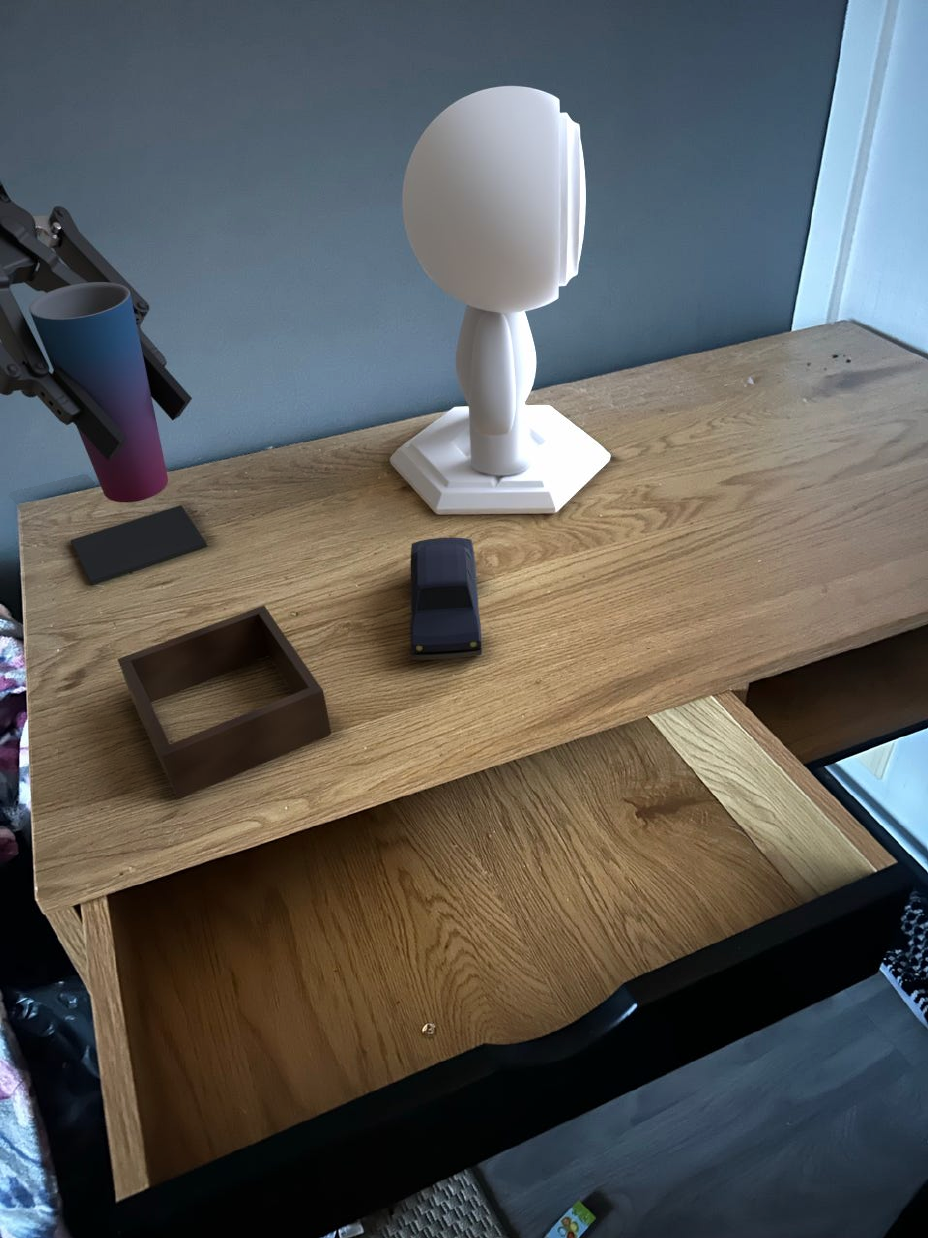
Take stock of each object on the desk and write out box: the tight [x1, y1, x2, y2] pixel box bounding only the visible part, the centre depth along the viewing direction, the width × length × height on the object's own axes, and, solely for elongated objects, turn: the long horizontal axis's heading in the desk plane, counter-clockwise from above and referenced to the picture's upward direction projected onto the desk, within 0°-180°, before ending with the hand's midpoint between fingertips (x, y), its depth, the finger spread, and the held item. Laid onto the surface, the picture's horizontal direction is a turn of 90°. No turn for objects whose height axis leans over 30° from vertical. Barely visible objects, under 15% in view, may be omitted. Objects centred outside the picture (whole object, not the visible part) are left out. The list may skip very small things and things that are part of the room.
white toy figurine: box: [389, 85, 611, 515], centre depth 92 cm, size 20×23×35 cm
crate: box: [117, 605, 332, 800], centre depth 73 cm, size 12×12×4 cm
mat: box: [70, 504, 208, 586], centre depth 94 cm, size 11×8×1 cm
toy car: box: [409, 536, 484, 661], centre depth 82 cm, size 6×15×5 cm, turn 2°
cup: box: [28, 282, 169, 504], centre depth 73 cm, size 7×7×15 cm
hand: (150, 428), depth 72 cm, fingers closed on cup, 6 cm apart
